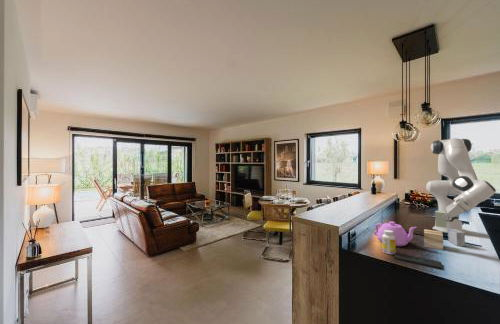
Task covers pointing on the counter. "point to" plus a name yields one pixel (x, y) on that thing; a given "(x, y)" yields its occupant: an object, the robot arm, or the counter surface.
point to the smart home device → (418, 260)
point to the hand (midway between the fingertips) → (441, 217)
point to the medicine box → (456, 237)
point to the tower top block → (433, 235)
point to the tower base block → (433, 244)
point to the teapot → (395, 233)
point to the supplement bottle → (388, 242)
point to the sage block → (440, 219)
